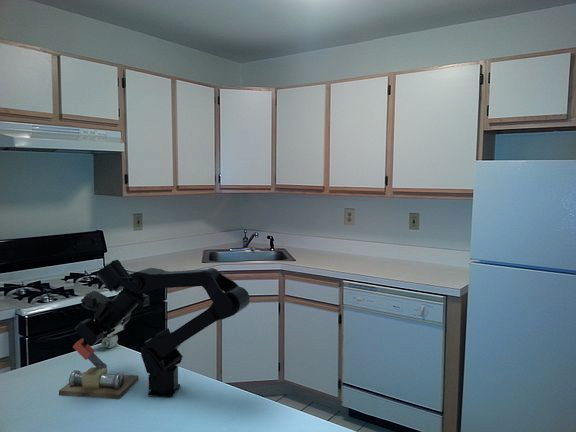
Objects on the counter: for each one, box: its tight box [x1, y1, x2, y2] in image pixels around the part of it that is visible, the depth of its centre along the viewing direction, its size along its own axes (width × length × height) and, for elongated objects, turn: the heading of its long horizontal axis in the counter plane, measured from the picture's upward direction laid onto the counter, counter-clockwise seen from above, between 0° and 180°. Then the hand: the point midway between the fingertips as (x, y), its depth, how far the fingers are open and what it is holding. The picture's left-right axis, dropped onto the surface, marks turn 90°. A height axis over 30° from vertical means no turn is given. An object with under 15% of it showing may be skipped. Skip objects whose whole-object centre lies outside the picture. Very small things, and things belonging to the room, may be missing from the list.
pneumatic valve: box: [93, 316, 126, 349], centre depth 147 cm, size 6×12×12 cm, turn 161°
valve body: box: [68, 366, 125, 390], centre depth 116 cm, size 13×4×4 cm, turn 84°
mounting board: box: [58, 371, 140, 400], centre depth 118 cm, size 16×11×1 cm
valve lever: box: [72, 337, 108, 369], centre depth 120 cm, size 2×2×11 cm
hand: (84, 343), depth 120 cm, fingers closed, pressing on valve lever
